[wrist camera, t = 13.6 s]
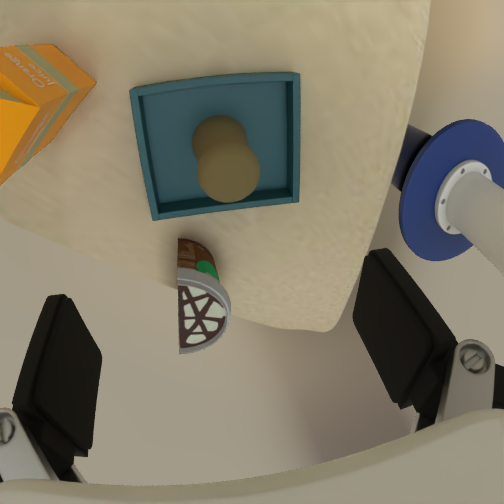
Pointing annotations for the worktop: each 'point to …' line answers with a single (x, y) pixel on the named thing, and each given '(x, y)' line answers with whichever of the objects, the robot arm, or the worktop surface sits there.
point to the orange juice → (35, 100)
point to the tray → (207, 105)
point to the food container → (199, 298)
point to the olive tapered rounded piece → (224, 159)
